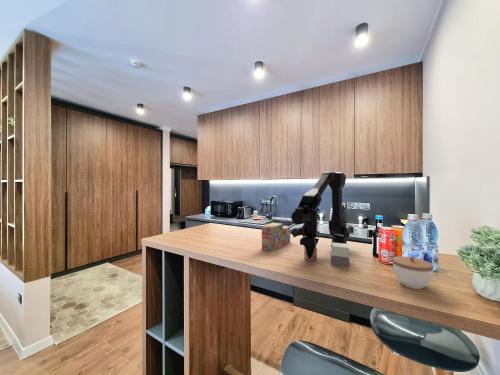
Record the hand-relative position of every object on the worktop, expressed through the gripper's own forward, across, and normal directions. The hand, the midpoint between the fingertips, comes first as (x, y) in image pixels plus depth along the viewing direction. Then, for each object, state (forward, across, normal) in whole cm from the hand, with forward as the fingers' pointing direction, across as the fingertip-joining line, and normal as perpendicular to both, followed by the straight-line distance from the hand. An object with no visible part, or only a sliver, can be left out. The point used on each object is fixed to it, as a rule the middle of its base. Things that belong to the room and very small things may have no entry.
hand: (310, 256), depth 95 cm
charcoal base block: (+1, 0, +12) cm, 12 cm away
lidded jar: (+1, +11, +35) cm, 36 cm away
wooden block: (+1, 0, 0) cm, 1 cm away
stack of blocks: (+1, -14, -20) cm, 25 cm away
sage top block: (-3, 0, +12) cm, 12 cm away
